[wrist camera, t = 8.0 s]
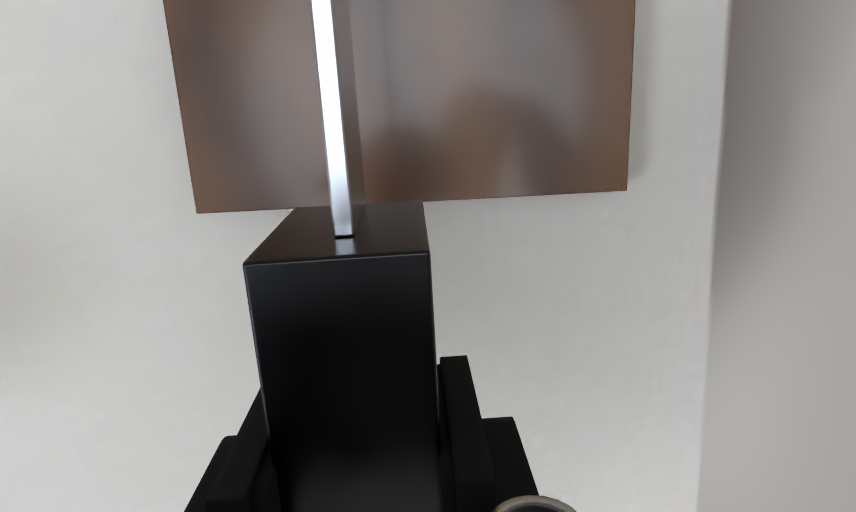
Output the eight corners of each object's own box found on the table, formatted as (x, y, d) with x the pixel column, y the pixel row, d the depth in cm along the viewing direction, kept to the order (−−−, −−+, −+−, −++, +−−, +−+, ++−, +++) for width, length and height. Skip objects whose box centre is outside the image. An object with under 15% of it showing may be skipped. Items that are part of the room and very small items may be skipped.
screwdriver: (445, 588, 13) (459, 762, 10) (340, 595, 13) (316, 774, 10) (380, -506, 8) (362, -946, 5) (207, -499, 8) (60, -940, 5)
